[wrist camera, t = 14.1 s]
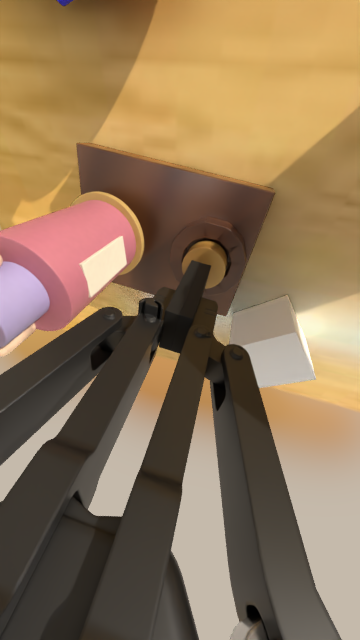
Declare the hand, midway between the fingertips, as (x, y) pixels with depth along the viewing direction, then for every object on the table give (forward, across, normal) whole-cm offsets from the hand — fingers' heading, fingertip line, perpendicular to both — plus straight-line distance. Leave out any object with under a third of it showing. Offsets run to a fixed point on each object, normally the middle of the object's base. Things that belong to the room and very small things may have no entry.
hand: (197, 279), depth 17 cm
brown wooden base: (+7, -4, 0) cm, 8 cm away
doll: (+3, -9, 0) cm, 9 cm away
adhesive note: (+7, +9, -7) cm, 13 cm away
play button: (+3, 0, 0) cm, 3 cm away
